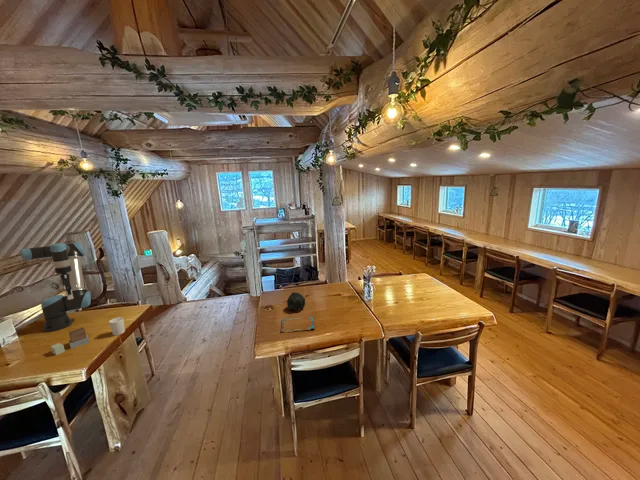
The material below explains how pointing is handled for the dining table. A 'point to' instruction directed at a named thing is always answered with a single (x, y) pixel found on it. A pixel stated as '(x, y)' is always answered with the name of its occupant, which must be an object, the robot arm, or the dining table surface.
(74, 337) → the walnut block
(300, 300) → the squash
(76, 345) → the grey slab
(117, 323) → the white cup
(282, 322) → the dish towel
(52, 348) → the sage block
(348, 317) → the dining table surface
